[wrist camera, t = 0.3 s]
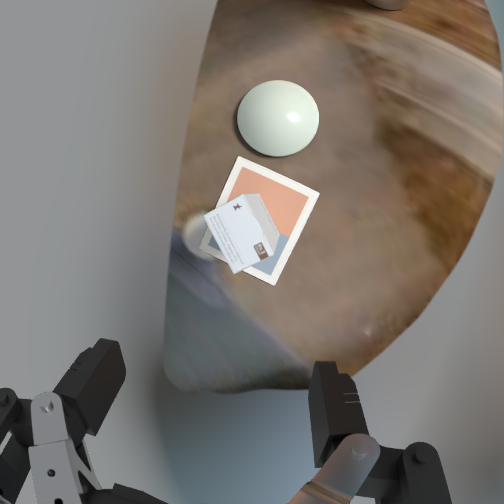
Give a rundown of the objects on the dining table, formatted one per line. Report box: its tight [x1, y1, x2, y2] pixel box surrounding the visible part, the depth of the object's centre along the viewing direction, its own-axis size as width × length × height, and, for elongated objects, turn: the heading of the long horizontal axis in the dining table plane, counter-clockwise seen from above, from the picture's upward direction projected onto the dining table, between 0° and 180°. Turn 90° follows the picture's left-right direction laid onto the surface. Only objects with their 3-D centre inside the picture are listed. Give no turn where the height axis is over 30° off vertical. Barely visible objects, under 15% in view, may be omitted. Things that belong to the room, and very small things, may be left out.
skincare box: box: [203, 193, 280, 274], centre depth 31 cm, size 6×4×12 cm
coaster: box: [237, 80, 319, 157], centre depth 34 cm, size 10×10×1 cm
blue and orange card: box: [199, 156, 320, 286], centre depth 37 cm, size 13×11×1 cm
